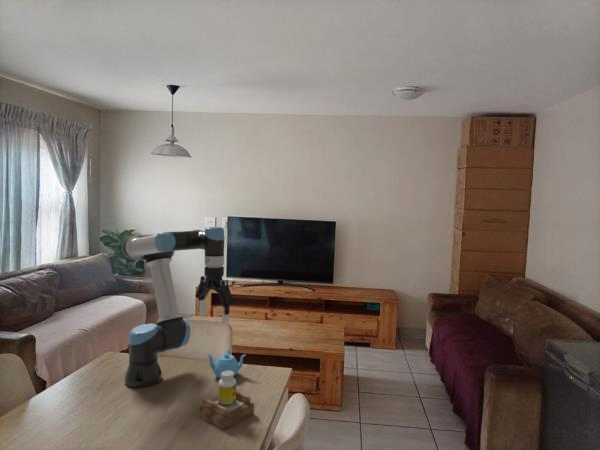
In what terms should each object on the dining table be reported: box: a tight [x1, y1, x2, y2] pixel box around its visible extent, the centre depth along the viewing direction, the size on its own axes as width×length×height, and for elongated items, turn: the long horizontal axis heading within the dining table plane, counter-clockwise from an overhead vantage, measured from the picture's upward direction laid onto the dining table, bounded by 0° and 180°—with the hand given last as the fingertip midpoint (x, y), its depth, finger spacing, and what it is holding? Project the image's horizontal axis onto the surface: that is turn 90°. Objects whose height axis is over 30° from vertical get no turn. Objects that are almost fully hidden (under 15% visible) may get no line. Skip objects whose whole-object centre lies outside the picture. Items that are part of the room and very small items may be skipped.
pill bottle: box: [217, 371, 237, 408], centre depth 148 cm, size 6×6×12 cm
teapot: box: [206, 346, 246, 380], centre depth 181 cm, size 13×13×10 cm
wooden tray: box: [198, 390, 255, 431], centre depth 149 cm, size 14×14×6 cm
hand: (213, 319), depth 161 cm, fingers open, 13 cm apart
